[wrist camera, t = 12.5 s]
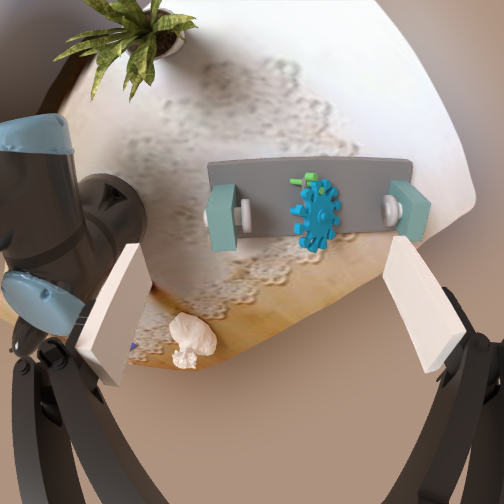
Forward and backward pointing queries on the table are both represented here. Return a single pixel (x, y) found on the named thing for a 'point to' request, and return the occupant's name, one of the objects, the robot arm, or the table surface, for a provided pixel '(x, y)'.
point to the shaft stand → (288, 195)
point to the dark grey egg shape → (26, 338)
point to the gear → (316, 212)
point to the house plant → (133, 39)
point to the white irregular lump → (191, 339)
